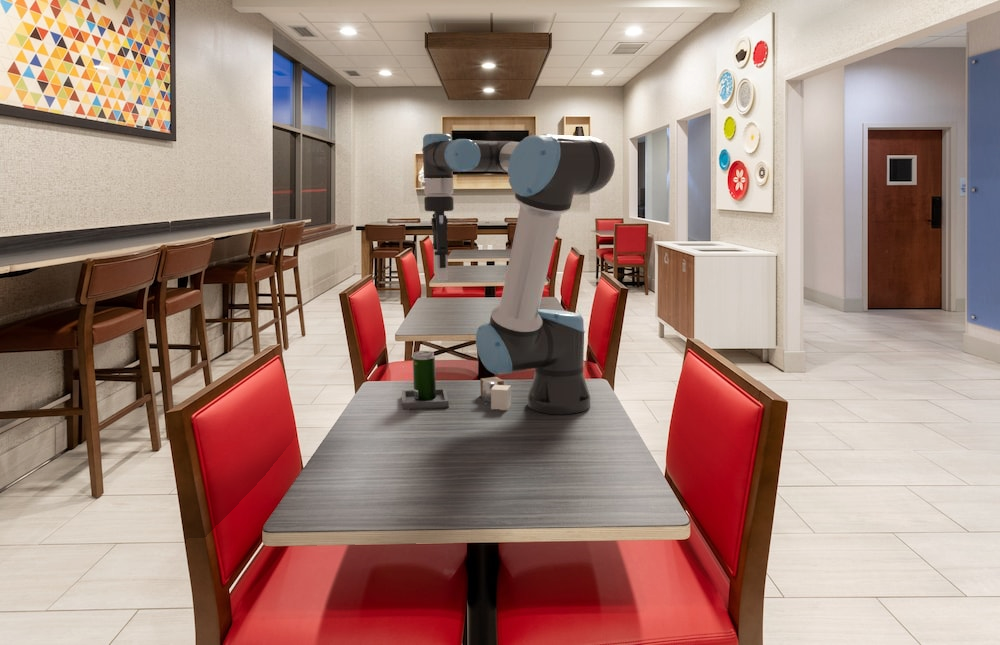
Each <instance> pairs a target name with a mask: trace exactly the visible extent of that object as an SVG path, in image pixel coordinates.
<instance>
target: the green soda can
mask: <svg viewBox="0 0 1000 645" xmlns="http://www.w3.org/2000/svg"><path fill="white" fill-rule="evenodd" d="M412 372H413V373H412V374H413V379H412V380H413V381H412V382H413V390H414V399H415V401H416V402H420V401H435V398H436V389H437V388H436V386H437V384H436V356H435V352H433V351H431V350H418V351H415V352H413V356H412Z"/></svg>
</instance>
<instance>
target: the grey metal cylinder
mask: <svg viewBox="0 0 1000 645" xmlns="http://www.w3.org/2000/svg"><path fill="white" fill-rule="evenodd" d="M494 385H498V382H496V381H484V382H483V397H482V402H484V403H487V404H486V405H491V389H492V387H493V386H494ZM484 403H483V404H484Z"/></svg>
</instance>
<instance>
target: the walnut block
mask: <svg viewBox="0 0 1000 645" xmlns="http://www.w3.org/2000/svg"><path fill="white" fill-rule="evenodd" d="M484 381H496V382H498V385H505V383H504V381H505V380H503V379H501V378H499V377H498V376H491V377H485V378H484V377H483V378H480V382H479V384H480V396H481V397H482V398H483V382H484Z"/></svg>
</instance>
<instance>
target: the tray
mask: <svg viewBox="0 0 1000 645" xmlns="http://www.w3.org/2000/svg"><path fill="white" fill-rule="evenodd" d="M401 393H402V394H401V396H402V397H401V398H402V399H401V401H402V402H401V403H402V410H403V411H405V410H423V409H424V410H425V409H440V408H441V409H442V408H444V409H446V408H449V406H450V404H449V397H448V393H447V389H446V387H445V388H443V387H442V388H436V398H435V401H420V402H416V401H415V399H414V389H408V390H407V389H406V390H405V389H404V390H401Z"/></svg>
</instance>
